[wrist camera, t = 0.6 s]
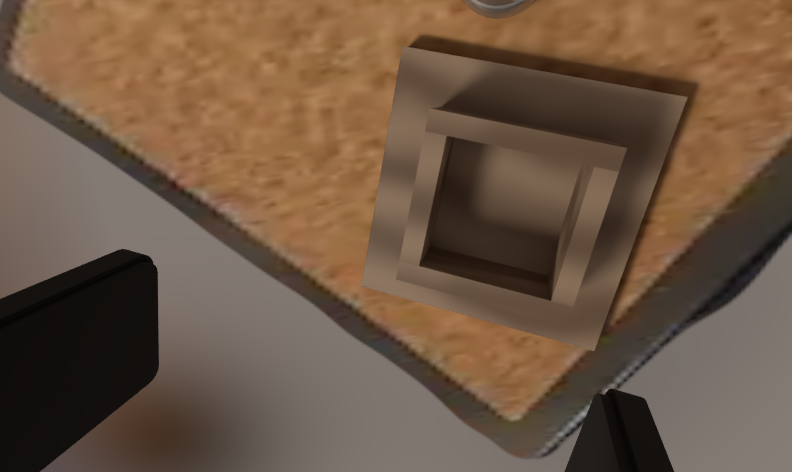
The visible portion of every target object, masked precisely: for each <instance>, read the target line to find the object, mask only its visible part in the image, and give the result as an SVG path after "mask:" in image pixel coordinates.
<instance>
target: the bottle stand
mask: <svg viewBox="0 0 792 472" xmlns="http://www.w3.org/2000/svg"><path fill="white" fill-rule="evenodd" d="M687 98H688V97H684V96H679V95H673V94H668V93H662V92H656V91H651V90H645V89H640V88H634V87H628V86H623V85H617V84H612V83H606V82H600V81H595V80H589V79H584V78H578V77H573V76H567V75H561V74H556V73H550V72H545V71H539V70H533V69H528V68H522V67H517V66H511V65H505V64H500V63H494V62H489V61H483V60H477V59H472V58H466V57H461V56H455V55H449V54H444V53H438V52H433V51H427V50H422V49H416V48H410V47H405V46H403V47H402V53H401V58H400V64H399V70H398V76H397V82H396V88H395V93H394V99H393V105H392V111H391V117H390V122H389V128H388V134H387V140H386V146H385V152H384V157H383V163H382V169H381V175H380V181H379V186H378V192H377V198H376V204H375V210H374V216H373V221H372V227H371V233H370V239H369V245H368V250H367V256H366V262H365V268H364V274H363V280H362V285H361V286H362V287H366V288H370V289H373V290H377V291H380V292H384V293H388V294H391V295H395V296H398V297H402V298H406V299H409V300H413V301H416V302H420V303H424V304H427V305H431V306H434V307H438V308H442V309H445V310H449V311H452V312H456V313H460V314H463V315H467V316H470V317H474V318H478V319H481V320H485V321H488V322H492V323H496V324H499V325H503V326H506V327H510V328H514V329H517V330H521V331H524V332H528V333H532V334H535V335H539V336H542V337H546V338H550V339H553V340H557V341H560V342H564V343H568V344H571V345H575V346H578V347H582V348H586V349H589V350H593V351H594V350H595V347H596V345H597V342H598V339H599V336H600V334H601V331H602V328H603V326H604V323H605V320H606V317H607V315H608V312H609V309H610V307H611V304H612V301H613V298H614V296H615V293H616V290H617V288H618V285H619V282H620V279H621V277H622V274H623V271H624V269H625V266H626V263H627V260H628V258H629V255H630V252H631V250H632V247H633V244H634V241H635V239H636V236H637V233H638V231H639V228H640V225H641V222H642V220H643V217H644V214H645V212H646V209H647V206H648V203H649V201H650V198H651V195H652V193H653V190H654V187H655V184H656V182H657V179H658V176H659V174H660V171H661V168H662V165H663V163H664V160H665V157H666V155H667V152H668V149H669V146H670V144H671V141H672V138H673V136H674V133H675V130H676V127H677V125H678V122H679V119H680V117H681V114H682V111H683V108H684V106H685V103H686V100H687Z"/></svg>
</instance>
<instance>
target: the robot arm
mask: <svg viewBox="0 0 792 472" xmlns="http://www.w3.org/2000/svg"><path fill="white" fill-rule="evenodd" d="M158 349H159V345H158V272H157V268H156V266H155V265H154V264H153V261H152V259H151V258H150V257H149V256H147V255H144V254H140V253H136V252H133V251H130V250H126V249H121V250H117V251H115V252H113V253H110V254H108V255H105V256H103V257H101V258H98V259H96V260H93V261H91V262H88V263H86V264H84V265H81V266H79V267H76V268H74V269H71V270H69V271H67V272H64V273H62V274H59V275H57V276H55V277H52V278H50V279H48V280H45V281H42V282H40V283H38V284H35V285H33V286H31V287H28V288H26V289H23V290H21V291H18V292H16V293H14V294H11V295H9V296H6V297H4V298H1V299H0V472H40V471H41V470H42V469H44V468H45V467H46V466H47V465H49V464H50V463H51V462H52V461H54V460H55V459H56V458H57V457H59V456H60V455H61V454H62V453H63V452H65V451H66V450H67V449H68V448H70V447H71V446H72V445H73V444H75V443H76V442H77V441H78V440H80V439H81V438H82V437H83V436H85V435H86V434H87V433H88V432H89V431H91V430H92V429H93V428H95V427H96V426H97V425H98V424H99V423H101V422H102V421H103V420H104V419H106V418H107V417H108V416H109V415H111V414H112V413H113V412H114V411H116V410H117V409H118V408H119V407H120V406H122V405H123V404H124V403H125V402H127V401H128V400H129V399H130V398H132V397H133V396H134V395H135V394H137V393H138V392H139V391H140V390H141V389H143V388H144V387H145V386H147V385H148V384H149V383H150V382H151V381H152V380H153V379H154V377H155V376H156V373H157V371H158V367H159V351H158ZM565 472H674V470H673V468H672V465H671V463H670V460H669V458H668V455H667V453H666V450H665V448H664V445H663V442H662V440H661V438H660V435H659V432H658V430H657V427H656V425H655V422H654V420H653V417H652V415H651V412H650V410H649V407H648V404H647V402H646V400H645V399H644V398H642V397H639V396H635V395H632V394H628V393H625V392H622V391H618V390H615V389H609V390H608V391H607V392H606V394H605V395H603V394H600V393H597V394H596V395H595V396H594V398H593V400H592V403H591V405H590V408H589V410H588V413H587V416H586V418H585V421H584V423H583V426H582V428H581V431H580V433H579V436H578V439H577V441H576V444H575V446H574V449H573V451H572V454H571V457H570V459H569V462H568V464H567V467H566V469H565Z"/></svg>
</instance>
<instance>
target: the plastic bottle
mask: <svg viewBox="0 0 792 472" xmlns="http://www.w3.org/2000/svg"><path fill="white" fill-rule="evenodd" d="M463 1H464V3H465V4H466V5H467V6H468V7H469V8H470V9H471V10H473V11H474V12H476V13H477V14H479V15H482V16H484V17H487V18H495V19H499V18H507V17H510V16H514V15H516V14H518V13H520V12H522V11H524V10H525V9H526V8H528V7H529V6H530V5H531V4H533V3H534V1H535V0H463Z"/></svg>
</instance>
